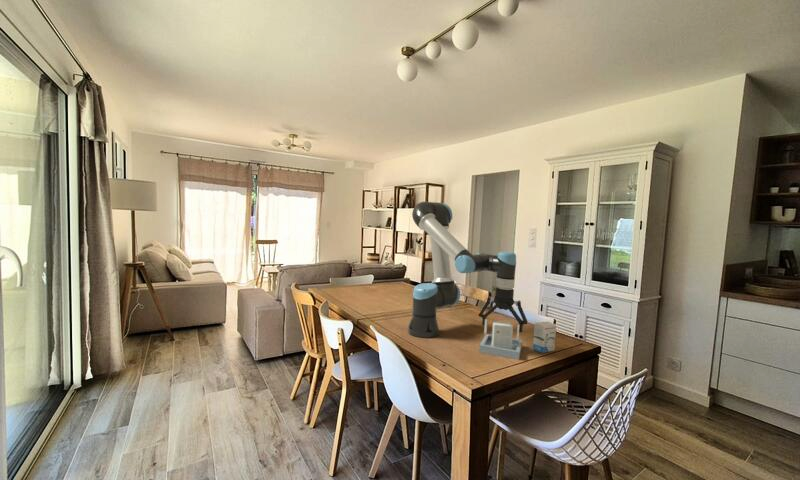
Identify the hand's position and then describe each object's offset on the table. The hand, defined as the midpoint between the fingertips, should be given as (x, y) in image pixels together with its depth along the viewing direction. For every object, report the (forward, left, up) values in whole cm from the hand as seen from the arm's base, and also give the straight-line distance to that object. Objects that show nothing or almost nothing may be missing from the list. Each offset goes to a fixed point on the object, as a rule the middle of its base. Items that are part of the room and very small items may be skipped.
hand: (501, 336), depth 147 cm
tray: (0, 0, -6) cm, 6 cm away
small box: (0, 0, -5) cm, 5 cm away
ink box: (+17, +9, -6) cm, 20 cm away
